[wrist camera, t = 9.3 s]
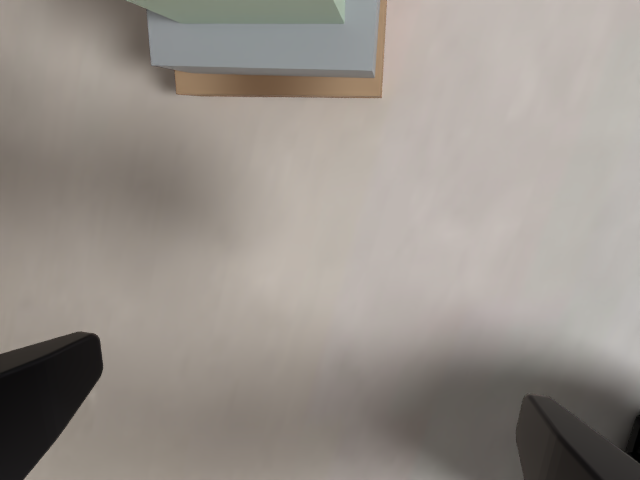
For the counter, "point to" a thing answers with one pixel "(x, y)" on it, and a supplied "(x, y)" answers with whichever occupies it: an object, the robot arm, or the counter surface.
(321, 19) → the stack block
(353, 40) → the blue-grey square block
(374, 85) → the tower base
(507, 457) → the counter surface
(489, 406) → the counter surface
